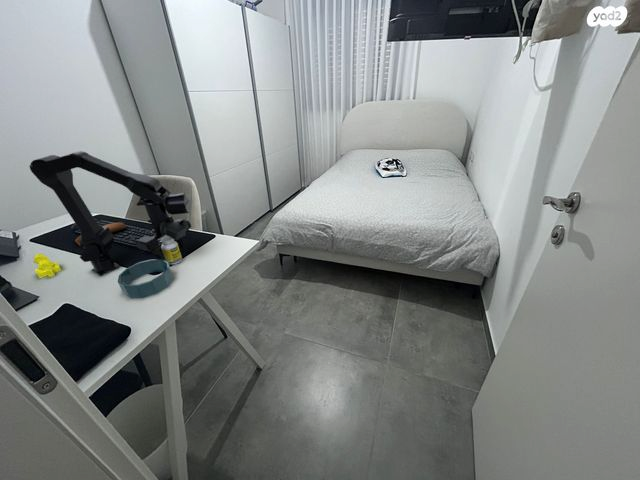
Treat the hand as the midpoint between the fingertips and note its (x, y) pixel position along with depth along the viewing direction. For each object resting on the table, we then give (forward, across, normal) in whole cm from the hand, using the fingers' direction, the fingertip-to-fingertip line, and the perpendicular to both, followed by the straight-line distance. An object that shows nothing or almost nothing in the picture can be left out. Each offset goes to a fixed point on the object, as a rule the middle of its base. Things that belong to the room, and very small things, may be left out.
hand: (172, 253), depth 96 cm
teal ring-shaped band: (+3, -13, -3) cm, 14 cm away
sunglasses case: (+3, +5, +48) cm, 49 cm away
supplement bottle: (+4, 0, 0) cm, 4 cm away
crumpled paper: (+3, -20, +38) cm, 43 cm away
